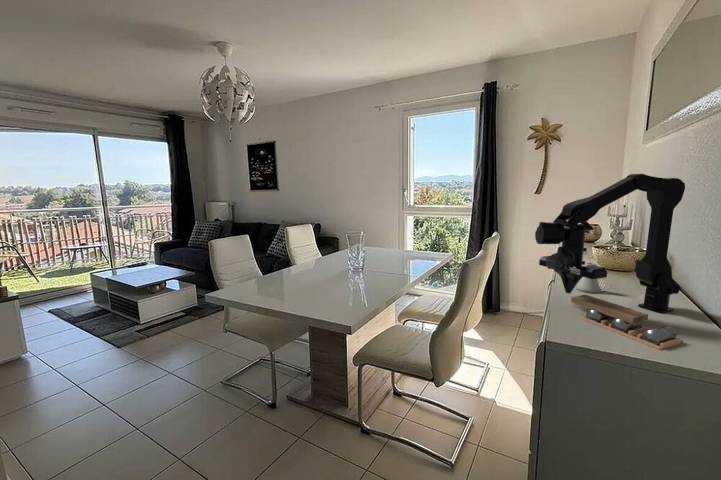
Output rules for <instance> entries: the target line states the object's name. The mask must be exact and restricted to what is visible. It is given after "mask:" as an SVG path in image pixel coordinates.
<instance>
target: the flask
mask: <svg viewBox="0 0 721 480" xmlns="http://www.w3.org/2000/svg"><path fill="white" fill-rule="evenodd" d="M591 265H595V266H598V264H597V263H595V262H585V266H591ZM577 284H578V285H576V290H579V291H581V292H584V293H589V294H594V293H600V292H601V291H602V290H601V286H600V283H599V280H598V279H589V278H586V277H582V278H581V279H580V280H579V282H578V283H577Z"/></svg>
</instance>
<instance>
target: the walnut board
mask: <svg viewBox="0 0 721 480" xmlns="http://www.w3.org/2000/svg"><path fill="white" fill-rule="evenodd" d="M570 299H571V300H570V302H571V304H574V305H578V306H581V307H584V308H586V309H589V310H595V311H597V312H600V313H603V314H606V315H609V316H612V317H614V318H617V319H620V320H623V321H626V322H629V323H632V324H634V323H638V322H642V321H643V322H646V321H648V320H649V313H646V312H642V311H640V310H636V309H633V308H629V307H626V306H623V305H619V304H617V303H614V302H611V301H607V300H605V299H602V298H598V297H595V296H591V295H588V294H581V295H575V296H571V298H570Z"/></svg>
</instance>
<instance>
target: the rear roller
mask: <svg viewBox="0 0 721 480" xmlns="http://www.w3.org/2000/svg"><path fill="white" fill-rule="evenodd" d="M585 314H586V317H587V319H590V320H593V321H595V322H598V323H601V321H603V320H607V319H612V318H614V317H612V316H609V315H606V314H603V313H600V312H597V311H595V310H592V309H589V310H588V311H586V313H585Z"/></svg>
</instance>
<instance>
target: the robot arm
mask: <svg viewBox="0 0 721 480" xmlns="http://www.w3.org/2000/svg"><path fill="white" fill-rule="evenodd" d="M637 190H638V191H642V192H646V200H647V202H648V204H649V207H650V208H651V209H650V217H649V226H648V231H647V232H648V233H647V241H646V249H645V254H644V256H643V257H642V258H641V259H636V260H635V263H634V264H635V268H634V270H633V272H634V273H635V277H636V278H637V279H638V280H639V283H640V285H641V286H644V287H645V292H644V293H645V294H644V299H643V302H642V303H639V304H637V306H638V307H640V308H643V309H647V310H649V311H652V312H657V313H661V314H662V313H663V314H664V313H668V312H672V311H675V308H673V307H671V306H669V305H670V299H671V295H673V294H674V295H675V294H676V295H677V294H678V293H679V292H680V290H681V286H680V284H678V282H677V281H676V280H675V279H673V267H672V265H671V264H670V261H669V259H668V251H669V246H670V245H669V244H670V237H671V229H672V223H673V216H674V210H675V209H676V207H677V206H678V205H679V204H680V202H682V200H683V197H684V195H685V194H684V193H685V190H686V183H685V182H684V181H683V180H682V179H680V178H678V177H677V178H676V177H657V176H653V175H648V174H645V173H630V174H628V175H627V176H626V177H624V178H623V179H621V180H619V181H617V182H615V183H613V184H611V185H610V186H607V187H605V188H603V189H602V190H599V191H598V192H596V193H594V194H592V195H590V196H588V197H584V198H580V199H575V200H574V201H570V202H567V203H565V204H564V205H563V206H562V209H561V212H560V213H559V214H558V216H557V217H556V218H555V219H554V220H553V222H546V221H539V224H538V226H537V227H536V230H535V233H534V238H535V241H536V243H537V244H538V245H559V244H561V245H560V246H558V248H557V251H556V253H553V254H551V255H546V256H544V255H543V256H541V257H540V259H539V261H538V266H542V267H546V268H547V269H549V270H553V271H554V272H555V273H556V274H558V275H559V277H560V280H561V281H562V285H563V288H564V291H565V293H566V294H567V295H568V294H571V293H572V291H573V290H574V289H575V287H577V284H579V283H580V281H581V279H582V277H586V278H589V279H597V280H598V279H604V278H607V277H608V271H607V269H606V267H603V266H599V265H596V266H595V265H591V266H586V261H585V260H584V259H583V258H584V252H585V253H586V252H587V250H588V249H587V247H585V238H586V231H593V230H594V227H593V226H592V225H591V224H590V223H589V222H588V221H589V220H590V219H592V218H593V217H595V216H596V215H597V214H598V212H600V210H601V209H603V208H604V207H606V206H608V205H610V204H612V203H613V202H616V201H617V200H619V199H621V198H623V197H625V196H627V195H629V194H631V193H633V192H635V191H637ZM584 265H585V266H584Z"/></svg>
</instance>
